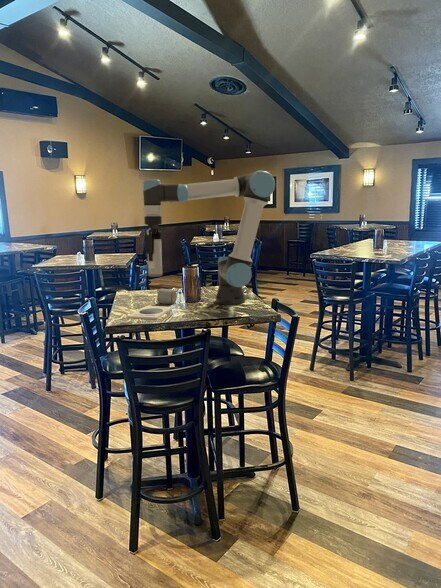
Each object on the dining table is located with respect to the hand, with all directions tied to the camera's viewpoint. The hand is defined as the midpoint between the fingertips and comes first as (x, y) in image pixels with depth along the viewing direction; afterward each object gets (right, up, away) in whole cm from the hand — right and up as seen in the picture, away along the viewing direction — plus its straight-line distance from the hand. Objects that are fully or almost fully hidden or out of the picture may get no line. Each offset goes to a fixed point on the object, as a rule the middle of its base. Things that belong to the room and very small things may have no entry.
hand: (154, 267), depth 198 cm
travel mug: (0, -4, +1) cm, 4 cm away
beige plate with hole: (-2, -21, +5) cm, 22 cm away
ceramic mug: (+3, -17, +25) cm, 30 cm away
